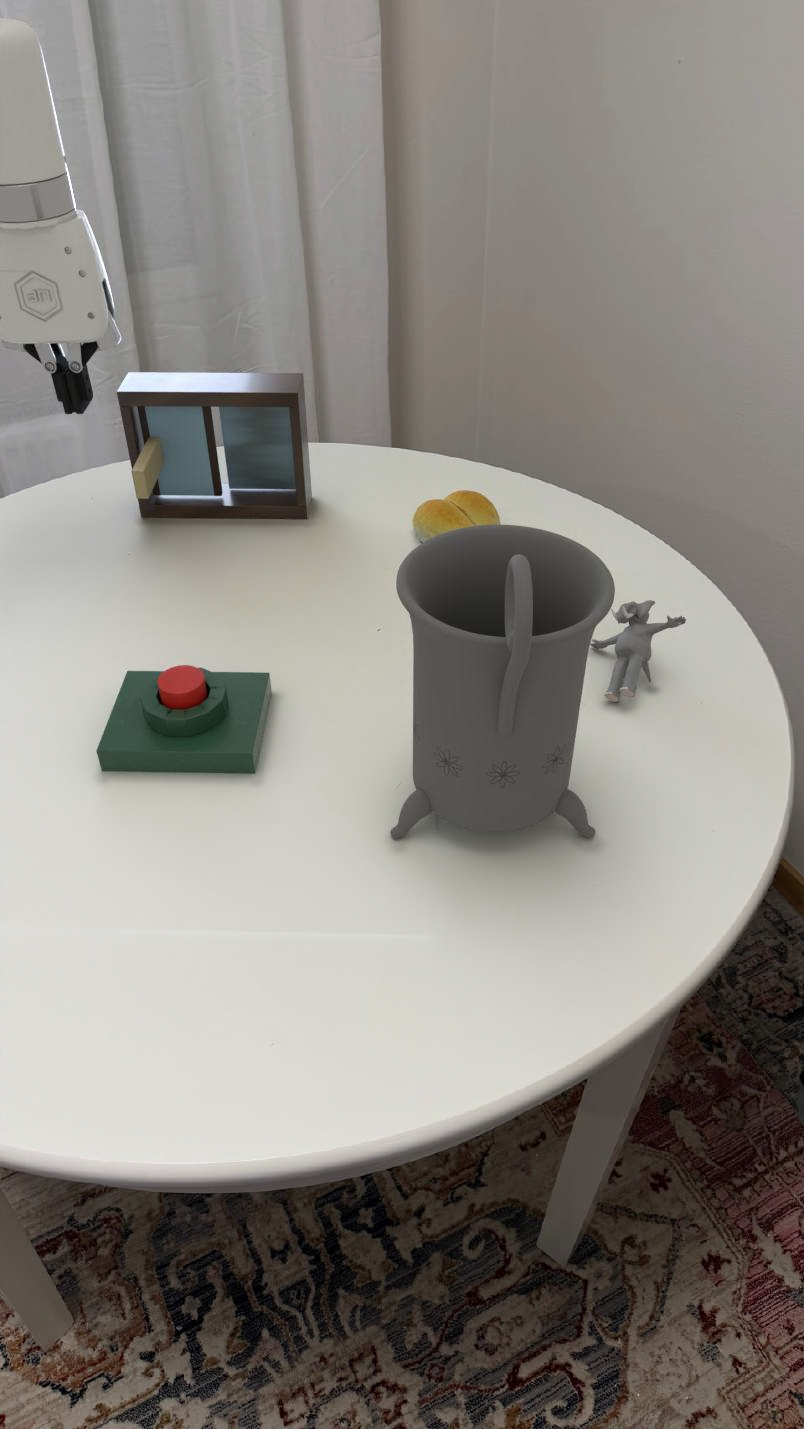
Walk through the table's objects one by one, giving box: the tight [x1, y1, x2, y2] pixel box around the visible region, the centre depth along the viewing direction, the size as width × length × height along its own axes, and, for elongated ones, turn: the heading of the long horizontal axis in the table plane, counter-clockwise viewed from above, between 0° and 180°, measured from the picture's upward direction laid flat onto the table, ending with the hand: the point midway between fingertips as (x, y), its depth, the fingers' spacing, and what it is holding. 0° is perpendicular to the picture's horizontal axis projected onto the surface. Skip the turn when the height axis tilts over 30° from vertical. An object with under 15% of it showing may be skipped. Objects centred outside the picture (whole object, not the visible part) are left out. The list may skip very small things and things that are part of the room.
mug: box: [389, 524, 616, 840], centre depth 67 cm, size 19×15×25 cm
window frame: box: [116, 371, 313, 520], centre depth 105 cm, size 18×5×14 cm, turn 88°
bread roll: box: [412, 489, 502, 543], centre depth 104 cm, size 8×9×4 cm
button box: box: [95, 667, 273, 775], centre depth 80 cm, size 12×10×4 cm
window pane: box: [130, 406, 223, 500], centre depth 102 cm, size 7×8×10 cm
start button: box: [158, 664, 207, 710], centre depth 79 cm, size 4×4×2 cm
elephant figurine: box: [590, 599, 687, 703], centre depth 85 cm, size 10×6×9 cm
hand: (78, 408), depth 96 cm, fingers closed
